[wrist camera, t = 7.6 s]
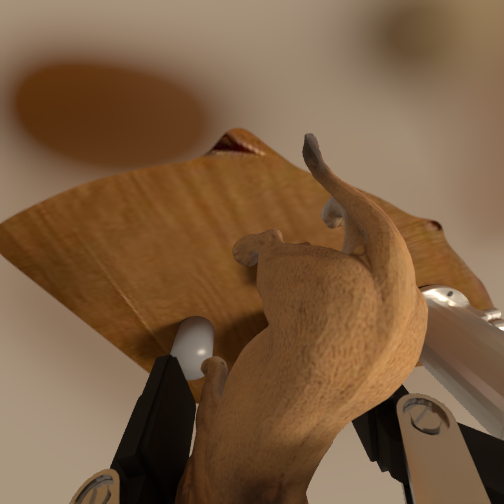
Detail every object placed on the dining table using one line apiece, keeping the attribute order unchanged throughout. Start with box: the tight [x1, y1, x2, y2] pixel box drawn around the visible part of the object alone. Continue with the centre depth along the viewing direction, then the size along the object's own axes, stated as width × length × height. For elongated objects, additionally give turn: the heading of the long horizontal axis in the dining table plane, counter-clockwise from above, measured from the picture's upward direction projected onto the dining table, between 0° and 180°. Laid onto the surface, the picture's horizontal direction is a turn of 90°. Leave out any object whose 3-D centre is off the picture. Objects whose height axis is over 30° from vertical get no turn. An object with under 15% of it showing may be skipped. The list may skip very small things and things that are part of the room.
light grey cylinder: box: [170, 316, 214, 380], centre depth 32 cm, size 5×5×6 cm
